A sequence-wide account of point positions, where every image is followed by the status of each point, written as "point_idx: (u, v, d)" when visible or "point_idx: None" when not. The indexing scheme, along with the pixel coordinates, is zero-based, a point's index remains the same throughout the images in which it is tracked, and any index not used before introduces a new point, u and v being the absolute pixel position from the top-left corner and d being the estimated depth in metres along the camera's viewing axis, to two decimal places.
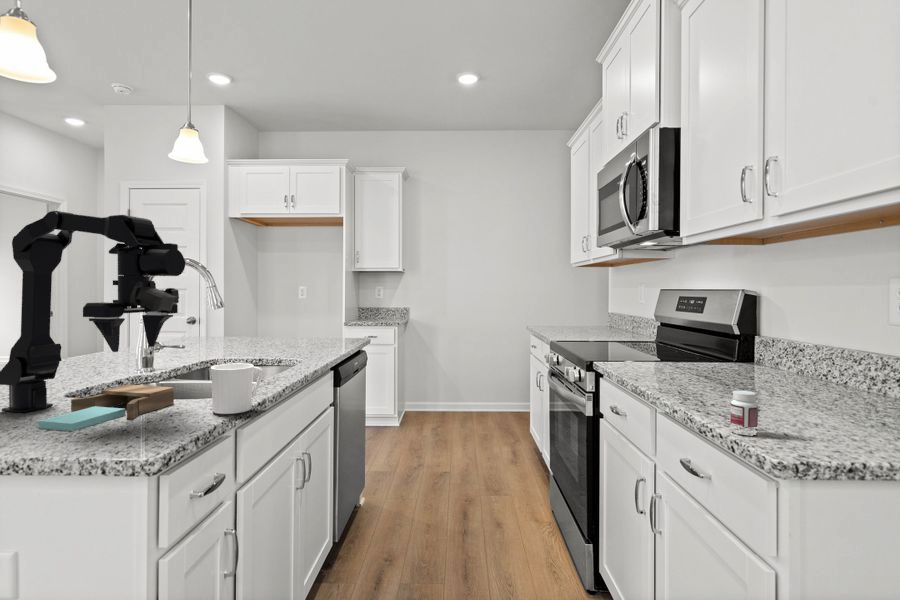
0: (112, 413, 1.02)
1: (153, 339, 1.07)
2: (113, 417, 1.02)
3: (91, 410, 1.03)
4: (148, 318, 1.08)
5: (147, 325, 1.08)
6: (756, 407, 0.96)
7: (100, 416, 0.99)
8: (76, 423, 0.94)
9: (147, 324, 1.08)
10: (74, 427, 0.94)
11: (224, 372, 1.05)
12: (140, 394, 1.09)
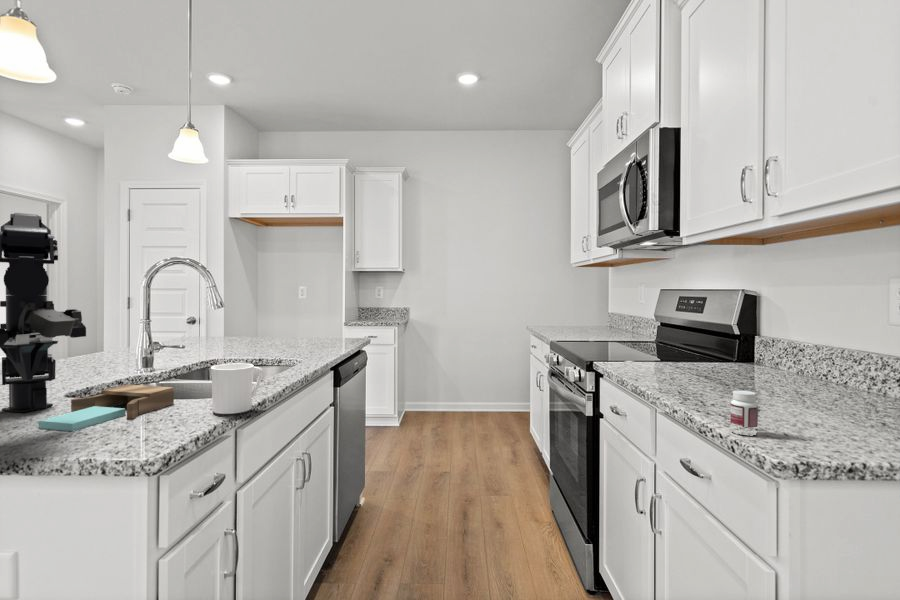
0: (112, 413, 1.02)
1: (30, 371, 0.89)
2: (113, 417, 1.02)
3: (91, 410, 1.03)
4: None
5: None
6: (756, 407, 0.96)
7: (100, 416, 0.99)
8: (76, 423, 0.94)
9: None
10: (74, 426, 0.94)
11: (224, 372, 1.05)
12: (140, 394, 1.09)
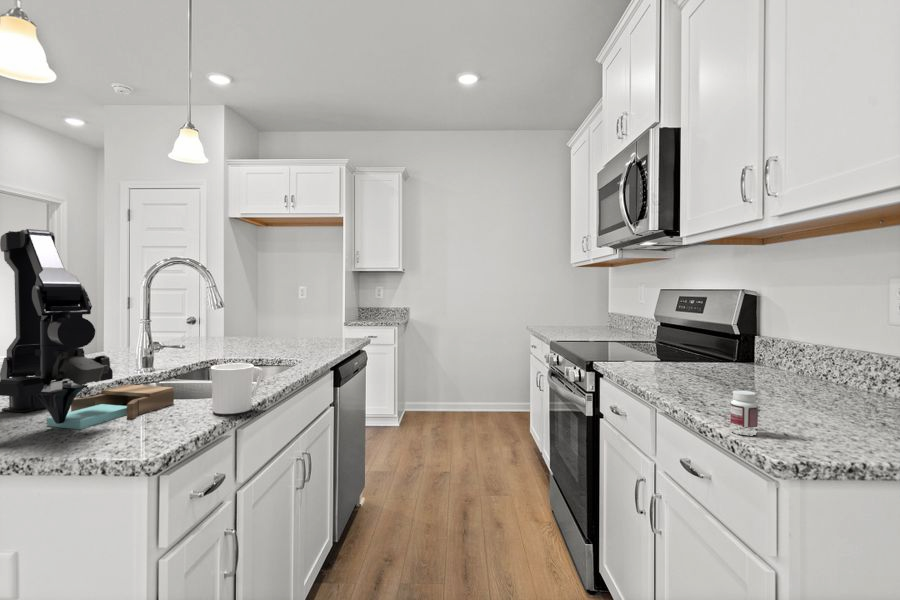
0: (119, 411, 1.04)
1: (62, 415, 0.95)
2: (120, 415, 1.04)
3: (98, 408, 1.05)
4: None
5: None
6: (756, 407, 0.96)
7: (107, 413, 1.01)
8: (84, 420, 0.96)
9: None
10: (82, 424, 0.95)
11: (224, 372, 1.05)
12: (140, 394, 1.09)
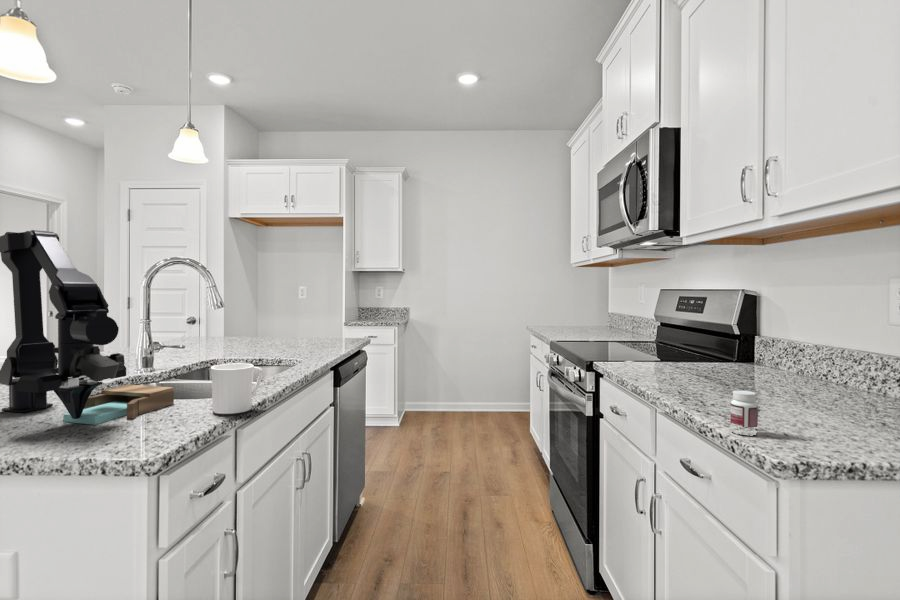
0: None
1: (78, 410, 0.98)
2: None
3: (112, 405, 1.08)
4: None
5: None
6: (756, 407, 0.96)
7: (121, 410, 1.04)
8: (99, 416, 0.99)
9: None
10: (97, 420, 0.99)
11: (224, 372, 1.05)
12: (140, 394, 1.09)
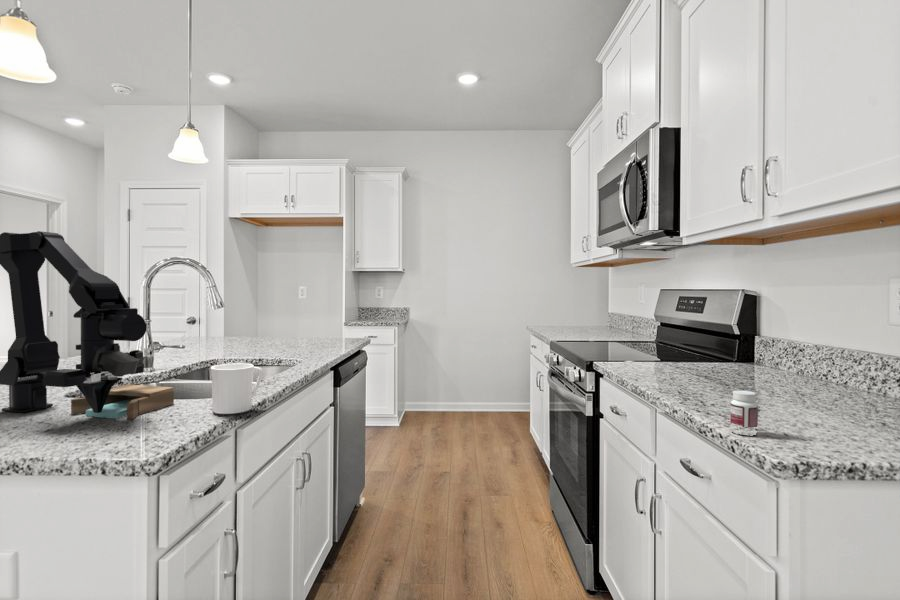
0: None
1: (100, 405, 1.03)
2: None
3: None
4: None
5: None
6: (756, 407, 0.96)
7: None
8: (120, 412, 1.03)
9: None
10: (119, 415, 1.03)
11: (224, 372, 1.05)
12: (140, 394, 1.09)
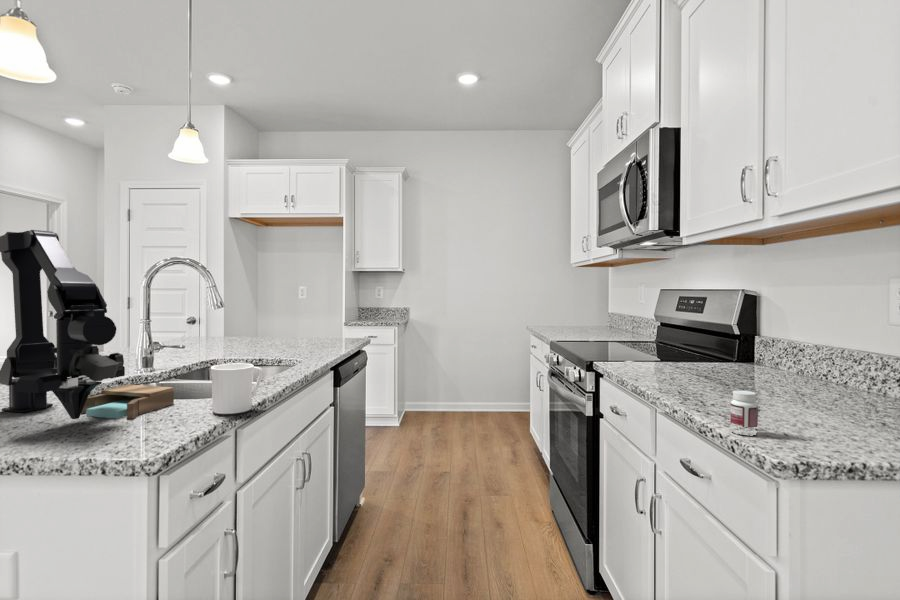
0: None
1: (78, 410, 0.98)
2: None
3: (131, 400, 1.12)
4: None
5: None
6: (756, 407, 0.96)
7: None
8: (121, 411, 1.03)
9: None
10: (119, 414, 1.03)
11: (224, 372, 1.05)
12: (140, 394, 1.09)
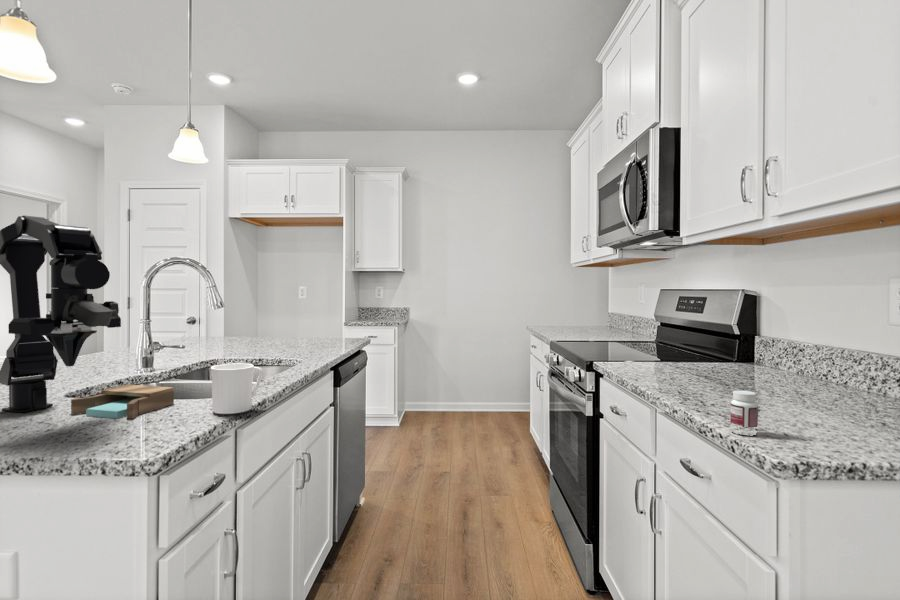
0: None
1: (72, 358, 0.97)
2: None
3: (131, 400, 1.12)
4: None
5: None
6: (756, 407, 0.96)
7: None
8: (120, 411, 1.03)
9: None
10: (119, 414, 1.03)
11: (224, 372, 1.05)
12: (140, 394, 1.09)
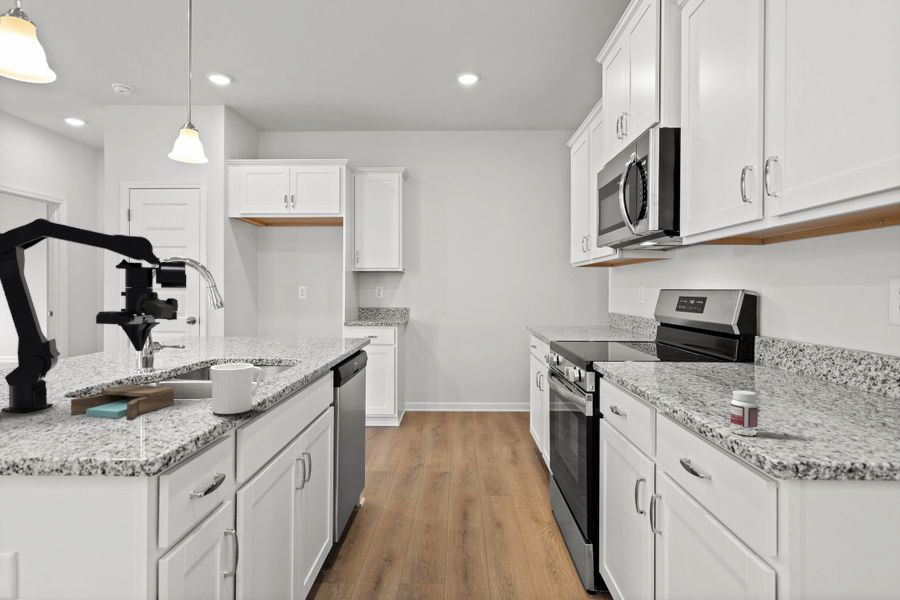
0: None
1: (141, 344, 1.19)
2: None
3: (131, 400, 1.12)
4: None
5: None
6: (756, 407, 0.96)
7: None
8: (121, 411, 1.03)
9: None
10: (119, 414, 1.03)
11: (224, 372, 1.05)
12: (140, 394, 1.09)
